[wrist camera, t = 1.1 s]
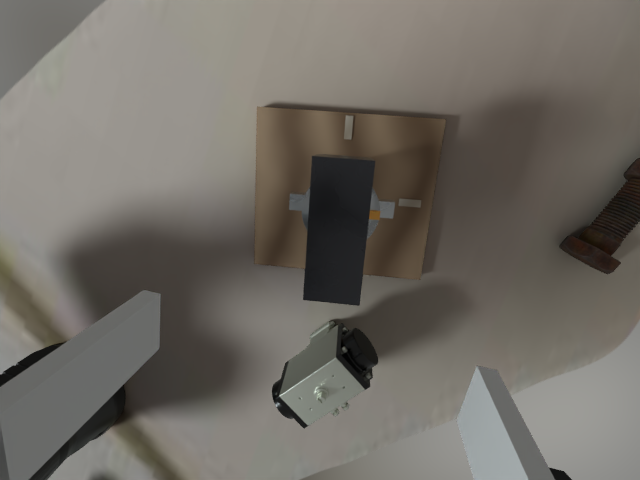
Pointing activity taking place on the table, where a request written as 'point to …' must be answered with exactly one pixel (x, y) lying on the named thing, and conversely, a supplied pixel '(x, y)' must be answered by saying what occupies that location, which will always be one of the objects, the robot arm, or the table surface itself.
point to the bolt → (609, 226)
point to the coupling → (338, 225)
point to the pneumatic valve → (325, 374)
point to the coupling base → (388, 183)
